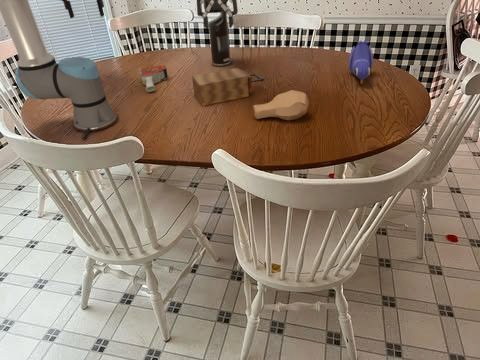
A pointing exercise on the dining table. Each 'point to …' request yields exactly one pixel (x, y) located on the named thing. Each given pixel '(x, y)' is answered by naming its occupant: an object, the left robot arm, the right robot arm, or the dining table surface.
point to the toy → (361, 60)
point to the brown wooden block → (220, 86)
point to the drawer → (252, 80)
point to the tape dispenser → (152, 76)
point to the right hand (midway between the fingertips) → (218, 27)
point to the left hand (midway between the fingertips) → (87, 16)
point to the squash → (284, 106)
